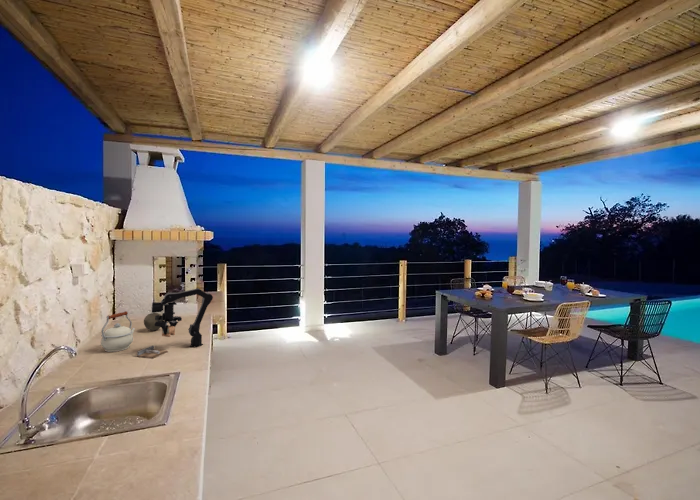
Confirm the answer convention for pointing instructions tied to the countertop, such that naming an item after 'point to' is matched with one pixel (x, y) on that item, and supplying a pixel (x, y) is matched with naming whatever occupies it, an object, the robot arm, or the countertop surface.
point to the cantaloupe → (151, 321)
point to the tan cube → (169, 331)
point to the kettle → (117, 335)
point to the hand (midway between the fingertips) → (168, 333)
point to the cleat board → (150, 352)
